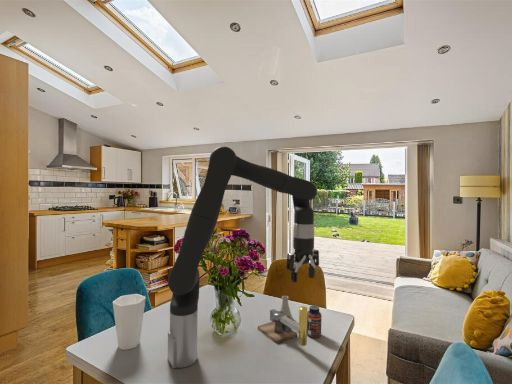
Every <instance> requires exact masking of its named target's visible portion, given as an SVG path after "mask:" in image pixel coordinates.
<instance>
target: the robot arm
mask: <svg viewBox="0 0 512 384" xmlns="http://www.w3.org/2000/svg"><path fill="white" fill-rule="evenodd" d="M232 176H233V177H237V178H240V179H241V178H242V179H244V180H247V181H250V182H253V183H255V184H257V185H259V186H262V187H264V188H268V189H270V190H273V191H275V192H277V193H280V194H281V193H282V194H286V195H287V194H288V195H290V196H292V205H293V210H294V220H293V223H294V224H293V229H292V230H293V234H292V235H293V236H292V237H293V238H292V239H293V240H292V242H293V243H292V246H293V247H292V248H293V249H294V251H293V253H289V252H288V253H287V254H286V255H287V256H286V270H287V271H289V272H290V281H291V282H293V283H297V282H298V271H299V269H300V268H302V265H303V266H304V265H305V264H306V265H308V278H310V279H314V278H315V273H316V270H315V269H316V267H319V266H320V250H318V249H315V226H314V221H315V220H314V219H315V218H314V217H315V213H314V209H313V208H312V207H311V201H312V200H314V199H315V198H316V197H317V195H318V188H317V186H316V184H314V182H312V181H309V180H306V179H304V178H299V177H296V176H292V175H290V174H287V173H285V172H281V171H279V170H276V169H274V168H271V167H267V166H263V165H259V164H256V163H252V162H250V161H248V160H245V159H243V158H241V157H239V156H238V155H237V154H236V153H235V151H234V150H233V149H232V148H230V147H228V146H219V147H216V148H215V149H214V150H213V151H212V152H211V153H210V155H209V161H208V167H207V171H206V176H205V180H204V182H203V185H202V187H201V189H200V191H199V194H198V195H197V197H196V199H195V202H194V204H193V207H192V208H191V212H190V214H189V217H188V221H187V224H186V227H185V231H184V235H183V238H182V243H181V245H180V249H179V252H178V255H177V258H176V260H175V261H174V263H173V266H172V268H171V270H170V273H169V274H168V277H167V285H168V288H169V290H170V291H171V293H172V296H171V301H170V305H169V331H168V332H167V361H168V362H169V364H170V366H171V368H172V369H177V368H179V369H180V368H181V369H182V368H183V369H184V368H187V367H190V366H192V365H193V364H195V363H196V362H197V360H198V314H199V313H198V312H199V311H198V307H199V306H198V305H199V304H198V303H199V299H200V270H199V265H200V262H201V259H202V256H203V253H204V252H205V250H206V248H207V246H208V244H209V242H210V240H211V238H212V236H213V234H214V231H215V228H216V225H217V223H218V219H219V216H220V213H221V209H222V205H223V202H224V201H223V200H224V196H225V192H226V189H227V188H228V185H229V182H230V179H231V177H232Z"/></svg>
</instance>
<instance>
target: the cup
mask: <svg viewBox="0 0 512 384" xmlns="http://www.w3.org/2000/svg"><path fill="white" fill-rule="evenodd" d="M145 305H146V296H145V295H141V294H139V293H133V294H126V295H125V294H124V295H121V296H119V297H117V298H116V299H115V300H113V301H112V306H113V308H112V309H113V315H114V316H113V317H114V324H115V332H116V338H117V341H116V342H117V345H118V348H119V349H120V350H122V351H126V350H130V349H131V350H132V349H135V348H136V347H137V346H138V345H140V343H141V336H142V335H141V334H142V329H143V328H142V327H143V321H144V312H145Z"/></svg>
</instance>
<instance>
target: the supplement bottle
mask: <svg viewBox="0 0 512 384" xmlns="http://www.w3.org/2000/svg"><path fill="white" fill-rule="evenodd" d="M322 316H323V315H322V312H320V307H319V306H317V305H315V304H314V305H309V309H308V310H307V337H309V338H311V339H312V338H313V339H318V338H321V336H322Z"/></svg>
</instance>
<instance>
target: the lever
mask: <svg viewBox="0 0 512 384" xmlns="http://www.w3.org/2000/svg"><path fill="white" fill-rule="evenodd" d="M307 312H308V307H307V306H304V305H303V306H299V307H298V322H296V321H294V320H293V319H292V320H291V319H289V318H288V317H286V316H285V313H284V312H281V311H280V310H276V309H274V308H273V309H270V310H269V321H270V322H275V321H280V322H282V323H284V324H285V325H287V326H288V327H290V328H291V329H292V330H293V331H295V332H296V333H297V334H298V345H299V346H302V347H303V346H304V347H305V346H307V344H308V335H307Z"/></svg>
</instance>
